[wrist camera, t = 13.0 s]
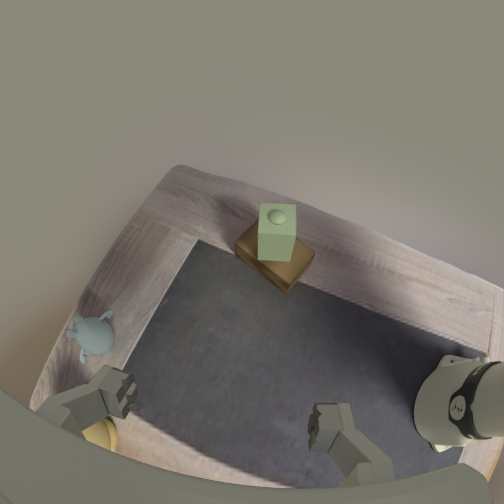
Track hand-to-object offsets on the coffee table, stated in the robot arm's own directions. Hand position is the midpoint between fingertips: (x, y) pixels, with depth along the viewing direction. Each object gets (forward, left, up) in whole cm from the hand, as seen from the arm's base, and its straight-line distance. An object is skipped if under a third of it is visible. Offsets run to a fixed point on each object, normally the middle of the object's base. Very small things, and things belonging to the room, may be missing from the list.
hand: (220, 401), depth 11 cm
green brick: (-2, -22, -27) cm, 35 cm away
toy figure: (+24, -3, -32) cm, 40 cm away
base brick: (-2, -22, -32) cm, 39 cm away
